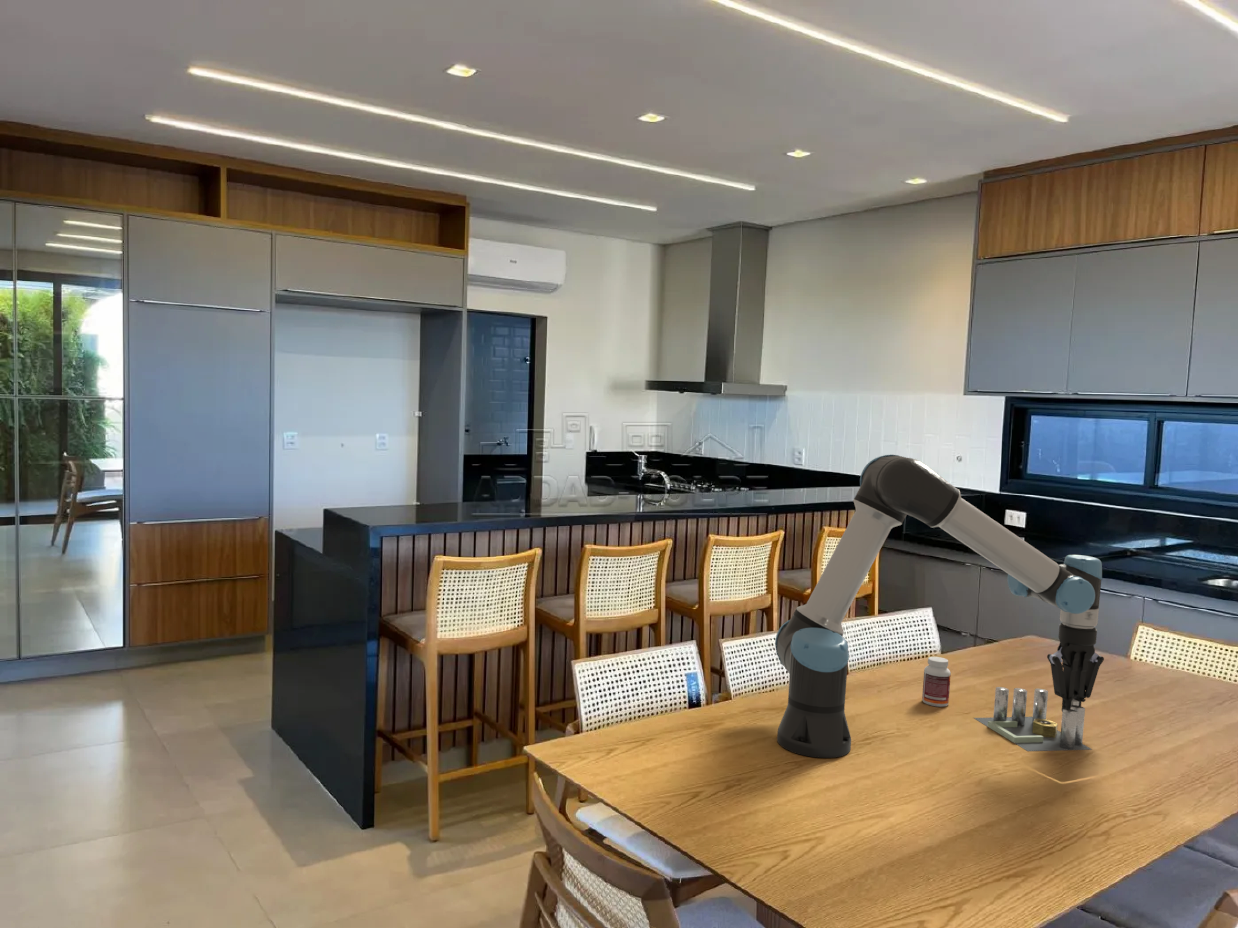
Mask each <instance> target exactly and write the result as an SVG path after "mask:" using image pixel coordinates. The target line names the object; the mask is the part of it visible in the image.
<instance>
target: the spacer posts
mask: <svg viewBox="0 0 1238 928" xmlns="http://www.w3.org/2000/svg"><path fill="white" fill-rule="evenodd" d="M1009 692H1010V689H1009V688H1006V687H1003V686H996V687H995V692H994V704H993V716H992V717H993V721H1007V717H1008V708H1009V706H1008V704H1009V694H1010V693H1009ZM1033 692H1034V694H1033V706H1032V707H1033V708H1032V716H1031V717H1032V724H1033V721H1034V720H1035V719H1047V711H1048V708H1047V707H1048V696H1049V691H1048V690H1047V689H1043V688H1035V689H1034V691H1033ZM1012 697H1013V698H1012V707H1011V708H1012V710H1011V711H1012V712H1011V717H1012V720H1011V721H1017V722H1018V724H1017V726H1024V725H1025V717H1026V711H1027V701H1028V700H1027V698H1028V690H1026V689H1024V688H1021V687H1015V688H1013V696H1012ZM1061 712H1062V713H1061V725H1060V727H1061V728H1060V732H1061V736H1060V747H1061V748H1064V749H1068V750H1067V751H1074V750H1073V749H1074V745H1076V746H1081V745H1082V744H1083V741H1084V740H1083V737H1084V728H1085V727H1084V725H1085V714H1086V708H1085V707H1084V706H1082V705H1081V706H1077V705H1072V706H1071V708H1070V709H1063V711H1062V710H1061Z"/></svg>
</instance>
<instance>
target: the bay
mask: <svg viewBox="0 0 1238 928" xmlns="http://www.w3.org/2000/svg"><path fill="white" fill-rule="evenodd" d="M1017 724H1018V722H1017V721H988V726H986V728H989V729H990V728H991V730H992V731H994V732H995V731H996V733H997V734H998V733H999V735H1000V734H1001V735H1000V736H1001V737H1003V736H1004V738H1005V739H1006V740H1008V739H1009V740H1008V741H1010V742H1012V743H1013V742H1014V744H1015V743H1029V742H1043V736H1041V735H1037V736H1016V735H1014V734H1012V733H1011V732H1009V731H1007V730H1006V729H1004V728H1003V727H1017Z"/></svg>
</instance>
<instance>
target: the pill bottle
mask: <svg viewBox="0 0 1238 928" xmlns="http://www.w3.org/2000/svg"><path fill="white" fill-rule="evenodd" d="M927 664H928V665H926V666H925V667H924V669H923V680H922V681H923V683H922V684H923V685H922V696H921V698H922V699H921V700H922V702H923V703H924V704H925V705H928V706H932V707H936V708H937V707H938V708H939V707H941V708H943V707H947V706H948V705H949V704H950V703H949V702H950V701H949V700H950V691H951V676H952V675H951V673H952V672H951V670H950V669H949V668H948V667H949V660H948V658H944V657H940V656H930V657H928V658H927Z"/></svg>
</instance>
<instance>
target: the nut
mask: <svg viewBox="0 0 1238 928" xmlns="http://www.w3.org/2000/svg"><path fill="white" fill-rule="evenodd" d="M1058 726H1059V723H1057V722H1055V721H1052V720H1050V719H1047V718H1046V719H1035V720H1034V721H1033V732H1032V733H1035V734H1037V735H1041V736H1043V737H1053V738H1055V737H1056V735H1057V730H1058Z"/></svg>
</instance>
